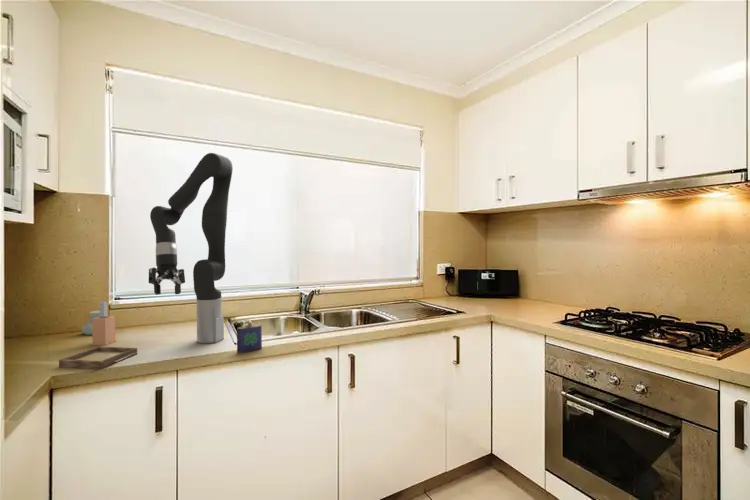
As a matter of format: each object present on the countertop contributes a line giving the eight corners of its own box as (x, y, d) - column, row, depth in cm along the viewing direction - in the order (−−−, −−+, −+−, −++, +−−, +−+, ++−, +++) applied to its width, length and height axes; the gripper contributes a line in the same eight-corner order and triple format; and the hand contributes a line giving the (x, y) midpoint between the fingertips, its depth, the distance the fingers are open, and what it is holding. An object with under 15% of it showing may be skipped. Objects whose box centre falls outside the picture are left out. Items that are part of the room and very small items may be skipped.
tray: (137, 354, 131) (137, 348, 131) (101, 369, 116) (101, 362, 116) (99, 352, 132) (99, 346, 132) (59, 367, 118) (58, 360, 117)
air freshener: (101, 331, 163) (100, 308, 162) (117, 331, 161) (116, 309, 161) (77, 337, 152) (77, 313, 152) (94, 338, 151) (94, 314, 150)
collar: (115, 341, 143) (114, 316, 143) (105, 345, 138) (105, 318, 138) (102, 341, 144) (102, 315, 143) (92, 344, 139) (92, 318, 138)
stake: (117, 343, 144) (116, 300, 143) (105, 348, 138) (105, 303, 137) (102, 343, 144) (101, 300, 143) (90, 347, 138) (89, 303, 137)
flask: (260, 347, 140) (260, 319, 140) (263, 349, 138) (263, 320, 138) (236, 351, 135) (235, 323, 134) (238, 353, 132) (238, 324, 132)
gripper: (156, 251, 141) (157, 293, 138) (188, 254, 154) (190, 292, 151) (143, 254, 144) (144, 295, 141) (175, 257, 157) (177, 295, 154)
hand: (168, 294), depth 146 cm, fingers open, 8 cm apart
